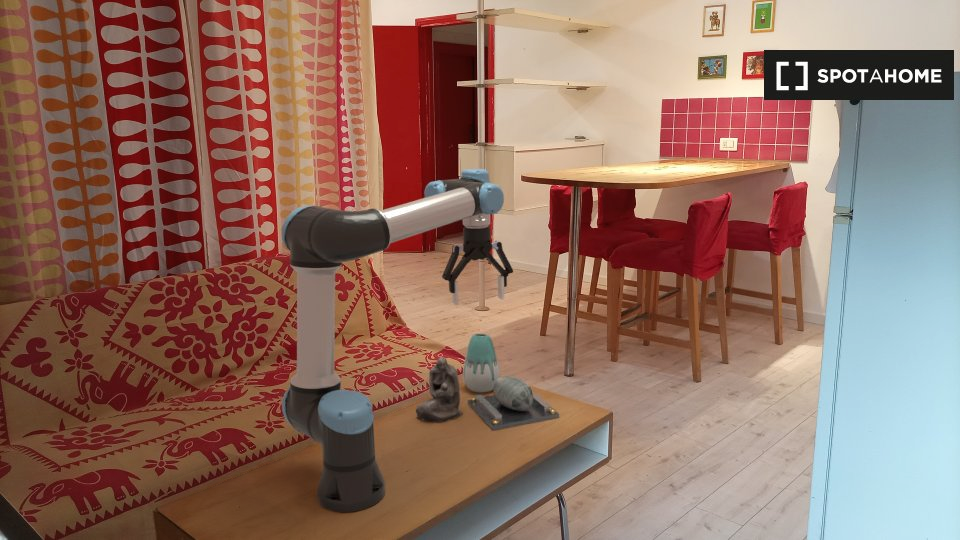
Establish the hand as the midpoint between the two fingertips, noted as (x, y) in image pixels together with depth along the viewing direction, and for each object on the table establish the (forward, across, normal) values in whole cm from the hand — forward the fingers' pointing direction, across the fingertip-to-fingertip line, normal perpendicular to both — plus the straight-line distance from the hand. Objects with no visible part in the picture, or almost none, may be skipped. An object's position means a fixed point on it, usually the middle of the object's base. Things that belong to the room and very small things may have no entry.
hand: (478, 301), depth 202 cm
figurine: (+33, -12, +1) cm, 35 cm away
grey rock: (+32, +8, -4) cm, 33 cm away
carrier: (+33, +8, -4) cm, 34 cm away
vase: (+33, +6, +15) cm, 37 cm away
